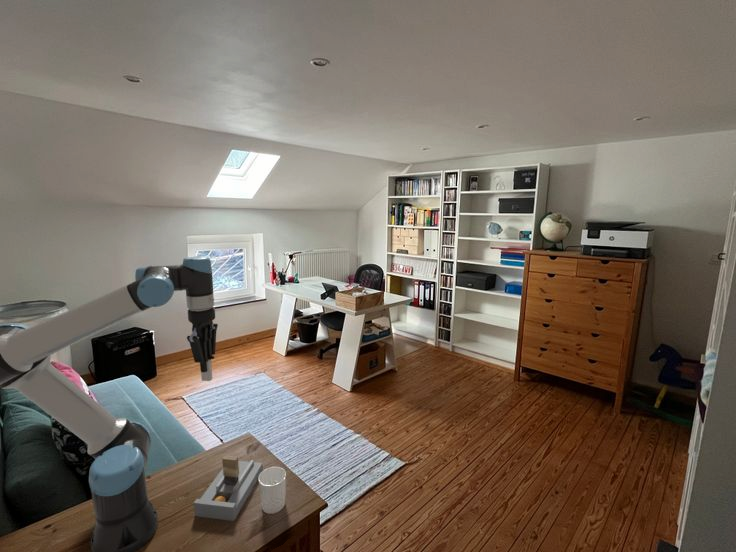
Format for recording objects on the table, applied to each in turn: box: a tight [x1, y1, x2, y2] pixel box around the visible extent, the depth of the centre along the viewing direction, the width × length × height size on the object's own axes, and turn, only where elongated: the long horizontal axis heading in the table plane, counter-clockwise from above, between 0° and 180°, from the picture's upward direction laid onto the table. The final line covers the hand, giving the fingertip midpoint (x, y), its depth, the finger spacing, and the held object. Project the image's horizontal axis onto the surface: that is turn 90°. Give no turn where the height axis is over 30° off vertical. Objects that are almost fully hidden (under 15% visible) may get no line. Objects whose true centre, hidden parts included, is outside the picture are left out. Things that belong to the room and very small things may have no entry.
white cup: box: [257, 466, 287, 515], centre depth 108 cm, size 8×8×10 cm
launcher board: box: [193, 459, 264, 522], centre depth 113 cm, size 20×12×4 cm, turn 173°
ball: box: [214, 496, 226, 502], centre depth 106 cm, size 4×4×4 cm
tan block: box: [221, 455, 239, 485], centre depth 112 cm, size 2×4×8 cm, turn 83°
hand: (207, 379), depth 114 cm, fingers closed
